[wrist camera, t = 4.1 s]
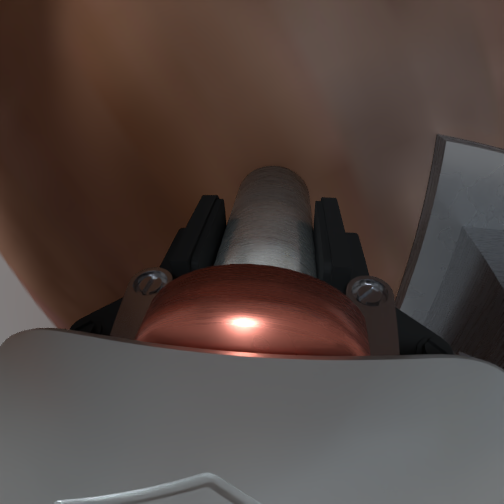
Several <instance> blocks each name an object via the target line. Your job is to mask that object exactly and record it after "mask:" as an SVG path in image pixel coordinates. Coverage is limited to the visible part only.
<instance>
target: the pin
mask: <svg viewBox="0 0 504 504" xmlns="http://www.w3.org/2000/svg"><path fill="white" fill-rule="evenodd" d="M134 340H137V341H144V342H151V343H159V344H166V345H174V346H183V347H192V348H201V349H211V350H222V351H234V352H248V353H263V354H283V355H311V356H371V353H370V346H369V340H368V334H367V328H366V322H365V318H364V316H363V315H362V313H361V311H360V310H359V308H358V307H357V306H356V305H355V304H354V303H353V302H352V301H351V300H350V299H349V298H348V297H347V296H346V295H344V294H343V293H342V292H340V291H339V290H338V289H336V288H334V287H333V286H331V285H329V284H327V283H326V282H324V281H322V280H319V279H317V275H316V261H315V249H314V237H313V226H312V216H311V206H310V196H309V191H308V188H307V186H306V184H305V182H304V181H303V180H302V178H301V177H300V176H299V175H297V174H296V173H295V172H293V171H291V170H289V169H287V168H284V167H280V166H266V167H262V168H259V169H256V170H254V171H253V172H251V173H250V174H249V175H247V176H246V178H245V179H244V180H243V182H242V183H241V185H240V188H239V191H238V194H237V197H236V200H235V202H234V205H233V208H232V211H231V214H230V217H229V220H228V223H227V226H226V229H225V232H224V236H223V239H222V242H221V245H220V248H219V251H218V254H217V257H216V260H215V263H214V266H211V267H207V268H202V269H198V270H195V271H192V272H189V273H187V274H184V275H182V276H180V277H178V278H176V279H174V280H172V281H171V282H169V283H168V284H167V285H165V286H164V287H163V288H162V289H160V291H159V292H158V293H157V294H156V295H155V297H154V298H153V300H152V302H151V303H150V305H149V307H148V310H147V312H146V314H145V316H144V319H143V321H142V323H141V325H140V328H139V330H138V332H137V334H136V337H135V339H134Z"/></svg>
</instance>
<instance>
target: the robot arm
mask: <svg viewBox="0 0 504 504" xmlns="http://www.w3.org/2000/svg"><path fill="white" fill-rule="evenodd" d="M225 229H226V217H225V207H224V200H223V199H219V197H218V195H203V196H202V198H201V200H200V201H199V203H198V205H197V207H196V209H195V211H194V213H193V215H192V217H191V219H190V220H189V222H188V224H187V226H186V228H181V229H180V230H179V231H178V233H177V235H176V237H175V238H174V240H173V242H172V244H171V246H170V248H169V250H168V252H167V254H166V256H165V258H164V260H163V262H162V264H161V266H160V268H157V267H153V268H147V269H145V270H142V271H140V272H138V273H137V274H135V275H134V276H133V277H132V278H131V280H130V282H129V284H128V286H127V289H126V291H125V294H124V297H123V298H121V299H119V300H117V301H115V302H113V303H111V304H109V305H107V306H105V307H103V308H101V309H99V310H97V311H95V312H93V313H91V314H89V315H87V316H85V317H83V318H81V319H80V320H78V321H77V322H75V323H74V324H73V325H72V326H71V328H70V330H68V329H58V328H36V329H31V330H25V331H21V332H19V333H16V334H14V335H12V336H10V337H9V338H8V339H6V340H5V341H4V342H3V343H2V345H1V346H0V504H504V369H502V368H500V367H498V366H497V365H495V364H493V363H490V362H488V361H484V360H481V359H477V358H475V357H472V356H470V355H467V354H465V353H462V352H460V351H459V352H458V354H454V353H453V350H452V348H451V347H450V345H449V344H448V343H447V342H446V341H445V340H444V339H443V338H441V337H440V336H438V335H437V334H435V333H434V332H432V331H431V330H429V329H428V328H426V327H425V326H423V325H422V324H420V323H419V322H417V321H416V320H414V319H413V318H411V317H410V316H408V315H407V314H405V313H404V312H402V311H401V310H399V309H398V308H396V307H395V301H394V294H393V291H392V289H391V287H390V286H389V285H388V284H387V283H386V282H385V281H383V280H381V279H379V278H377V277H373V276H369V273H368V269H367V265H366V262H365V258H364V254H363V251H362V247H361V243H360V240H359V236H358V234H357V233H345V230H344V226H343V222H342V218H341V214H340V210H339V206H338V202H337V199H336V198H323V197H322V198H321V201H316V203H315V215H314V228H313V237H314V249H315V261H316V275H317V279H319V280H322V281H324V282H326V283H327V284H329V285H331V286H333V287H334V288H336V289H338V290H339V291H340V292H342V293H343V294H344V295H346V296H347V297H348V298H349V299H350V300H351V301H352V302H353V303H354V304H355V305H356V306H357V307H358V308H359V310H360V311H361V313H362V315H363V316H364V318H365V322H366V328H367V334H368V340H369V346H370V353H371V356H311V355H283V354H263V353H248V352H234V351H222V350H211V349H201V348H192V347H183V346H174V345H166V344H159V343H151V342H144V341H137V340H134V339H135V337H136V334H137V332H138V330H139V328H140V325H141V323H142V321H143V319H144V316H145V314H146V312H147V310H148V307H149V305H150V303H151V302H152V300H153V298H154V297H155V295H156V294H157V293H158V292H159V291H160V289H162V288H163V287H164V286H165V285H167V284H168V283H169V282H171V281H172V280H174V279H176V278H178V277H180V276H182V275H184V274H187V273H189V272H192V271H195V270H198V269H202V268H207V267H211V266H214V263H215V260H216V257H217V254H218V251H219V248H220V245H221V242H222V239H223V236H224V232H225Z"/></svg>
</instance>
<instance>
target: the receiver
mask: <svg viewBox="0 0 504 504" xmlns="http://www.w3.org/2000/svg"><path fill="white" fill-rule="evenodd" d="M395 307H396V308H398V309H399V310H401V311H402V312H404V313H405V314H407V315H408V316H410V317H411V318H413V319H414V320H416V321H417V322H419V323H420V324H422V325H423V326H425V327H426V328H428V329H429V330H431V331H432V332H434V333H435V334H437V335H438V336H440V337H441V338H443V339H444V340H445V341H446V342H447V343H448V344H449V345H450V347H451V348H452V350H453V353H454V354H458V352H459V351H460V352H462V353H465V354H467V355H470V356H472V357H475V358H477V359H481V360H484V361H488V362H490V363H493V364H495V365H497V366H498V367H500V368H502V369H504V149H500V148H497V147H493V146H489V145H485V144H481V143H476V142H472V141H468V140H463V139H458V138H454V137H449V136H443V135H438V134H437V138H436V145H435V151H434V157H433V162H432V168H431V173H430V178H429V183H428V188H427V192H426V197H425V201H424V205H423V210H422V214H421V218H420V222H419V226H418V229H417V233H416V237H415V240H414V244H413V247H412V251H411V254H410V257H409V261H408V264H407V267H406V270H405V274H404V277H403V280H402V283H401V286H400V289H399V291H398V294H397V297H396V300H395Z"/></svg>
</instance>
